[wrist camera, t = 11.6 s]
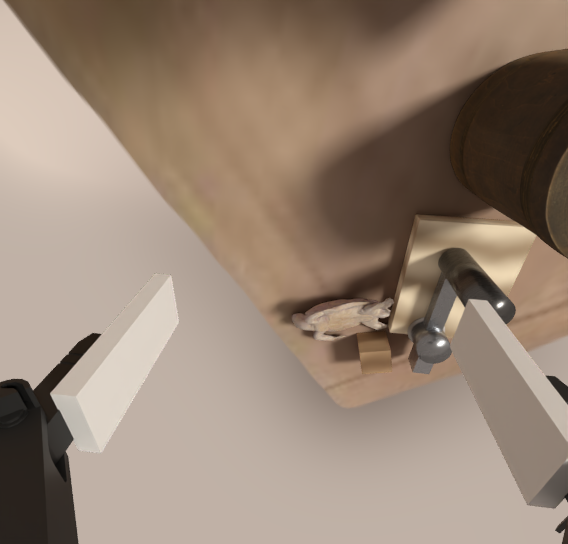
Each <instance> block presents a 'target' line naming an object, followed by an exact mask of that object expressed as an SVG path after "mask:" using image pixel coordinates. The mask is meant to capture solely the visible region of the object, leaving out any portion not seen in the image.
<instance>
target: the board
mask: <svg viewBox="0 0 568 544" xmlns="http://www.w3.org/2000/svg"><path fill="white" fill-rule="evenodd" d="M535 237H536V235H535V234H534V233H532V232H531V231H529V230H528V229H526V228H525V227H523V226H522V225H520V224H519V223H517V222H515V221H509V220H494V219H479V218H464V217H449V216H434V215H419V214H416V215H415V219H414V223H413V227H412V231H411V235H410V239H409V243H408V246H407V250H406V254H405V258H404V262H403V266H402V270H401V274H400V278H399V282H398V285H397V289H396V293H395V297H394V303H393V305H392V309H391V313H390V317H389V321H388V327H389V331H390V333H400V334H408V337H409V339H410V340H411V341H412V342H413V340H412V337H411V330H412V328H413V327H414V326H415V325H416V324H418V323H420V322H422V321H424V318H425V315H426V313H427V310H428V307H429V305H430V302H431V299H432V296H433V294H434V291H435V288H436V286H437V283H438V280H439V277H440V275H441V272H442V271H441V270H440V268H439V266H438V261H439V258H440V256H441V255H442V254H443V253H444V252H445V251H447V250H449V249H452V248H462V249H465V250H466V251H467V252H468V253H469V254H470V255H471V256H472V257H473V258H474V260H475V261H476V262H477V263H478V264H479V265H480V266H481V268H482V269H483V270H484V271H485V272H486V273H487V274H488V276H489V277H490V278H491V279H492V280H493V281H494V282H495V284H496V285H497V286H498V287H499V288H500V289H501V290H502V291H503V293H504V294H505V295H506V296H508V294H509V292H510V290H511V288H512V286H513V284H514V282H515V280H516V277H517V275H518V273H519V271H520V269H521V267H522V265H523V263H524V261H525V259H526V256H527V254H528V252H529V250H530V248H531V246H532V244H533V242H534V240H535ZM464 309H465V307H464V305H463V304H462V302H461V301H460V299H459V298H458V296H457V297H456V299H455V302H454V304H453V307H452V309H451V311H450V314H449V316H448V319H447V321H446V323H445V326H444V328H443V331H444V333H445V335H446V337H447V338H453V337H454V334H455V332H456V329H457V327H458V324H459V322H460V319H461V317H462V314H463V312H464Z"/></svg>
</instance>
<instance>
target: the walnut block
mask: <svg viewBox="0 0 568 544" xmlns="http://www.w3.org/2000/svg"><path fill="white" fill-rule="evenodd" d="M357 340H358V348H359V355H360V362H361V369H362V374H371V373H386V372H392V362H391V350H390V346H389V342H388V338H387V334H386V330H385V331H374V332H364V333H357Z"/></svg>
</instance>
